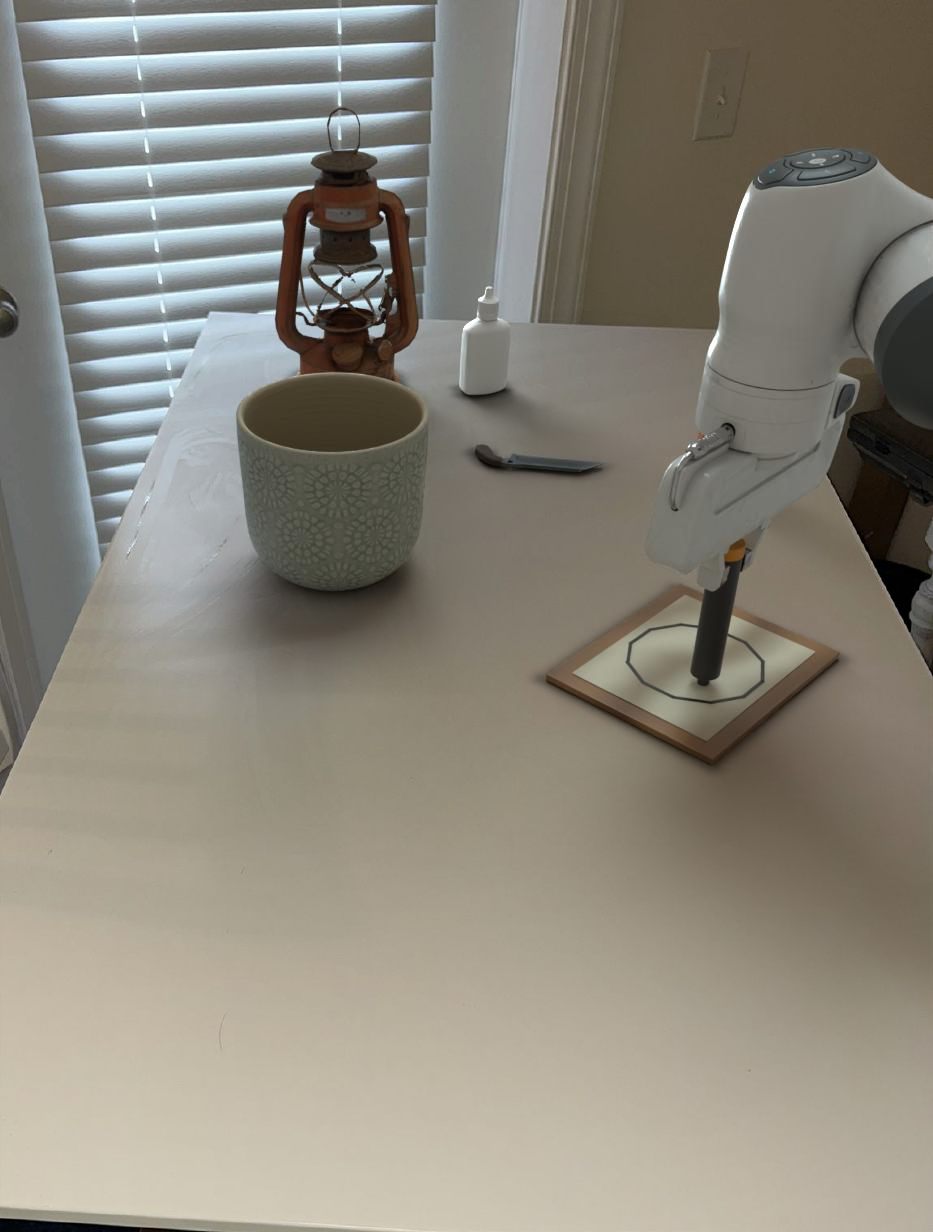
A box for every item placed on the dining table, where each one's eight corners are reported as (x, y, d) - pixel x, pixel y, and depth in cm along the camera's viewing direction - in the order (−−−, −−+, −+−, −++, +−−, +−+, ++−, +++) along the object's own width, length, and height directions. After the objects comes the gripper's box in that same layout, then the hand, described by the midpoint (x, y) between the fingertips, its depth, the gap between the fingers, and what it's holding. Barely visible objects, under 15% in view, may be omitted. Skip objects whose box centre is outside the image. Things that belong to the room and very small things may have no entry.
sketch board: (838, 658, 106) (841, 650, 106) (711, 765, 95) (713, 757, 95) (678, 588, 115) (680, 581, 114) (545, 679, 104) (546, 672, 104)
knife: (471, 465, 134) (471, 459, 133) (476, 449, 137) (476, 443, 136) (602, 477, 132) (603, 471, 131) (604, 460, 134) (605, 454, 134)
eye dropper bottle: (460, 380, 151) (465, 280, 143) (506, 383, 151) (514, 282, 143) (458, 395, 148) (463, 293, 140) (505, 397, 147) (513, 295, 140)
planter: (237, 610, 112) (225, 453, 102) (254, 519, 125) (245, 371, 115) (424, 613, 112) (431, 454, 102) (422, 521, 125) (427, 372, 115)
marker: (724, 682, 102) (752, 541, 94) (708, 695, 101) (734, 553, 93) (698, 670, 104) (723, 530, 96) (681, 683, 102) (705, 542, 94)
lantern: (274, 405, 146) (261, 123, 127) (280, 361, 156) (270, 94, 137) (418, 405, 146) (427, 123, 126) (415, 362, 156) (424, 94, 136)
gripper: (721, 468, 80) (684, 646, 89) (872, 377, 91) (825, 544, 100) (639, 437, 83) (611, 612, 92) (794, 353, 94) (756, 517, 103)
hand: (723, 576), depth 96 cm, fingers closed on marker, 2 cm apart
